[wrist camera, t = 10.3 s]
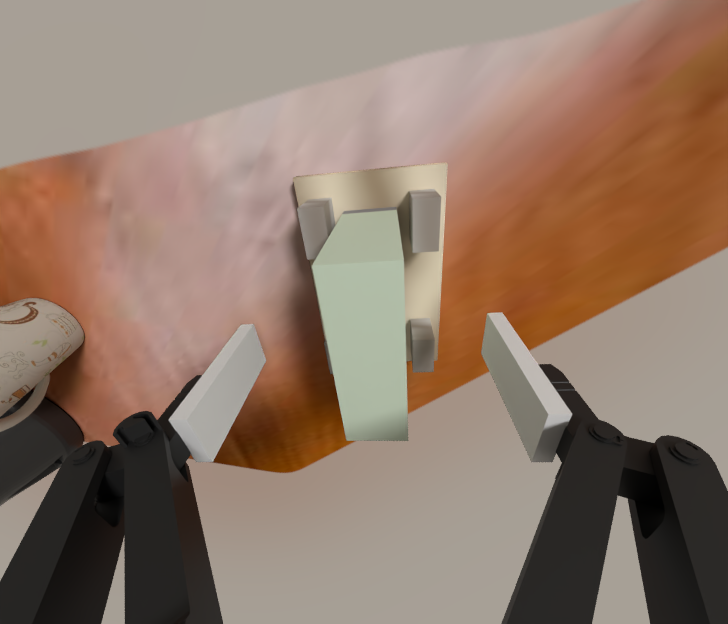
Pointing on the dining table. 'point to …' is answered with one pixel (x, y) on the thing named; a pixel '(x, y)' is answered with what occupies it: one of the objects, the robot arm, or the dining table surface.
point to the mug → (32, 352)
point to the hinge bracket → (417, 230)
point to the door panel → (366, 322)
